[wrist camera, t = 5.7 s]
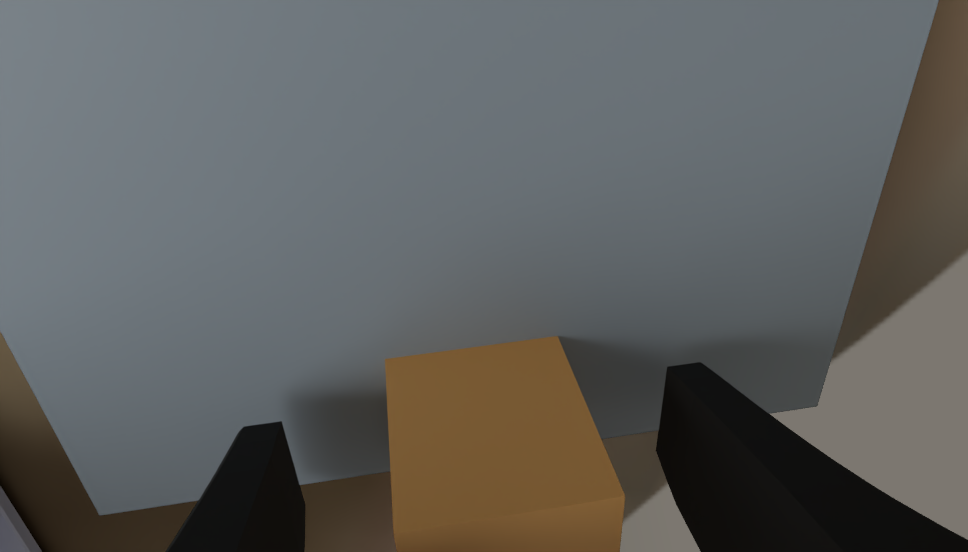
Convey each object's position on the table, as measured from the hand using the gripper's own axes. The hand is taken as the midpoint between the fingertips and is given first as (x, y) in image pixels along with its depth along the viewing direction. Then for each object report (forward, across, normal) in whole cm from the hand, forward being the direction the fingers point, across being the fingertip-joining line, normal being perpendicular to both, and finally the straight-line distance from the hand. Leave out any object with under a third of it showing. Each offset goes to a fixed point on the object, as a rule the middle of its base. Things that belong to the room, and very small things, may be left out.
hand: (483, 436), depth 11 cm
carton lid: (+1, 0, -5) cm, 5 cm away
